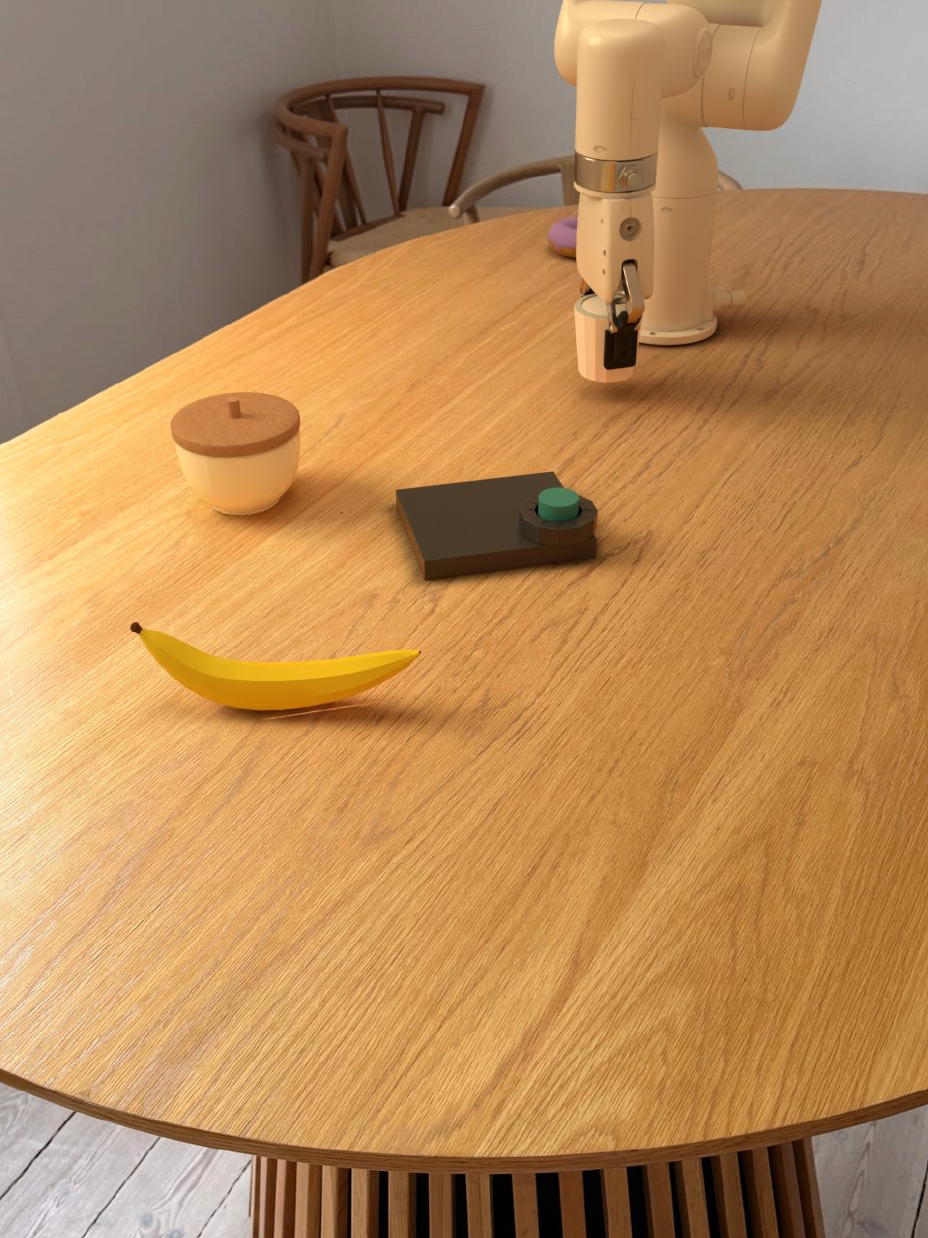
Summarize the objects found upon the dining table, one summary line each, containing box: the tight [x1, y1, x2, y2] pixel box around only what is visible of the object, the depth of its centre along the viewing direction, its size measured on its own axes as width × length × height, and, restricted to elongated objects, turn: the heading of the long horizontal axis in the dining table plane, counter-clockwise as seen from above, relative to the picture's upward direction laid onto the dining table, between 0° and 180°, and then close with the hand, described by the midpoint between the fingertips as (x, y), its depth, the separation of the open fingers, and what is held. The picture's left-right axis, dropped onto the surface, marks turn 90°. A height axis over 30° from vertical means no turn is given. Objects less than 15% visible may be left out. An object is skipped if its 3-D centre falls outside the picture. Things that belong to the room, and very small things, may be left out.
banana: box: [129, 621, 422, 711], centre depth 80 cm, size 3×19×6 cm, turn 86°
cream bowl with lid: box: [170, 391, 301, 516], centre depth 103 cm, size 11×11×9 cm
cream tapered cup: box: [573, 292, 643, 384], centre depth 121 cm, size 7×7×7 cm
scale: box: [395, 470, 599, 582], centre depth 100 cm, size 15×12×4 cm
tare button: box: [538, 487, 580, 522], centre depth 97 cm, size 3×3×2 cm
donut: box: [547, 216, 578, 259], centre depth 162 cm, size 10×9×5 cm
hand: (606, 350), depth 122 cm, fingers closed on cream tapered cup, 6 cm apart
